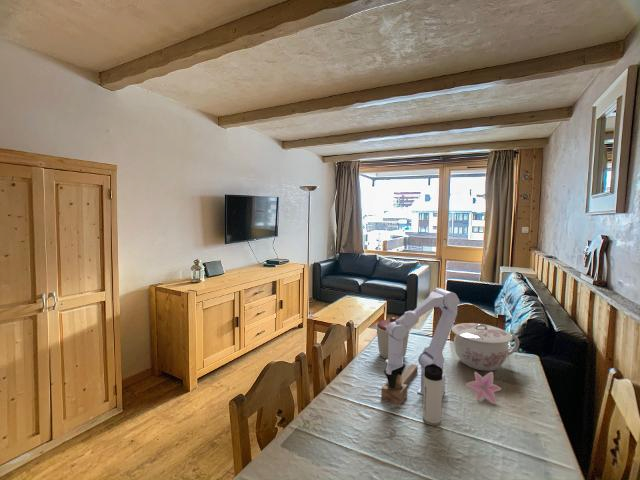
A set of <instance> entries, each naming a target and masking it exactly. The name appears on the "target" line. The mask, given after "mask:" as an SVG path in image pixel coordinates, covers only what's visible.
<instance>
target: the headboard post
mask: <svg viewBox="0 0 640 480" xmlns="http://www.w3.org/2000/svg"><path fill="white" fill-rule="evenodd" d="M417 374H418V365H417V364H414V363H410V365H409V366H408V367H407V368H406V369H405V370H404V371H403V372H402V382H401V390H398V389H395V388H391V387H388V380H387V381H386V382H385V383H384V385H383V386H382V387H381V399H383V400H386V401H389V402H392V403H395V404H397V405H402V403H403V402H404V401H405V399H406V398H407V396H408V385H409V384H410V383H411V382H412V381H413V380H414V379H413V378H415V376H416V375H417Z"/></svg>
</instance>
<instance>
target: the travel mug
mask: <svg viewBox="0 0 640 480" xmlns="http://www.w3.org/2000/svg"><path fill="white" fill-rule="evenodd" d="M443 371H444V369H443V370H442V368H440V367H439V366H437V365H436V364H431V365H427V366H425V374H424V395H423V397H422V399H423V402H422V405H423V406H422V420H423V422H424V423H425V424H426V425H430V426H433V427H436V426H439V425H441V423H442V407H443V406H442V405H443V404H442V403H443V402H442V401H443V400H442V399H443V396H442V379H443V378H442V375H444V374H443Z"/></svg>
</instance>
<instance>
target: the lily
mask: <svg viewBox="0 0 640 480" xmlns="http://www.w3.org/2000/svg"><path fill="white" fill-rule="evenodd" d="M474 378H475V380H472V381H469V382H466V383H465V385H466V386H467V387H469V388H470V389H472V390H474V391H476V395H475V398H476V401H479V400H481V399H483V398H484V397H485V398H486V399H487V400H489V402H491V403H492V404H494V405H497V400H496V395H495V392H498V391H501V390H502V388H501V387H500V386H498V385H497V384H495V383H494V373H493V371H490V372H488V373H486V374H485V375H484V376H482V375H481V374H479V373H478V372H477V371H474Z"/></svg>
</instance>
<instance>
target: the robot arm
mask: <svg viewBox="0 0 640 480" xmlns="http://www.w3.org/2000/svg"><path fill="white" fill-rule="evenodd" d="M459 303H460V299H459V297H458V295H457V294H456V293H455V292H453V291H449V290H446V289H445V288H442V287H436V288H434V290H433V291H431V292H430V293H429V295H428V297H427V298H426V299H425V300H423V301H422V302H421V303H420V304H419V305H418V306H417V307H416V308H415V309H414V310H408V311H404V314H402V315H401V316H400V317H399V318H396V321H395V322H391V323H390V324H389V325H388V326H387V328H386V331H387V333H388V334H389V343H388V359H385V361H384V362H385V364H387V365H386V368H385V369H384V371H383V373H384V374H385V376H386V379H387V381H388V384H389V387H391V388H395V384H396V379H397V376H398V374H399V375H402V374H403V373H404V371H405V370H404V369H405V368H406V364H405V363H404V358H405V357H403V338H404V337H405V336H406V333H407V332H408V330H409V329H410V328H411V329H412V328H413V327H414V326H415V325H417V324H418V323H419V320H420V318H421V317H422V316H423V315H425V314H426V313H427V312H429V311H431V310H432V309H433V308H440V310H441V312H442V313H441V316H440V318H439V320H438V323H437V326H436V328H435V331H434V333H433V336H432V338H431V341H430V343H429V346H427V347H425V348H424V349H423V351H422V352H421V353H420V354H419V356H418V360H417V362H418V363H419V365H420V370H421V374H420V387H419V389H418V390H417V394H420V395H423V396H424V374H425V366H427V365H431V364H436V365H437V366H439V367H440V368H442V370H443V371H444V364H445V363H444V362H445V358H444V355H443V351H444V348H445V346H446V344H447V341H448V338H449V336H450V334H451V332H452V329H451V328H452V327H453V326H454V322H455V321H456V319H457V315H458V306H459ZM411 329H410V330H411ZM442 378H443V379H442V397H443V396H444V394H445V393H446V376H445V374H443V375H442Z"/></svg>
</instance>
